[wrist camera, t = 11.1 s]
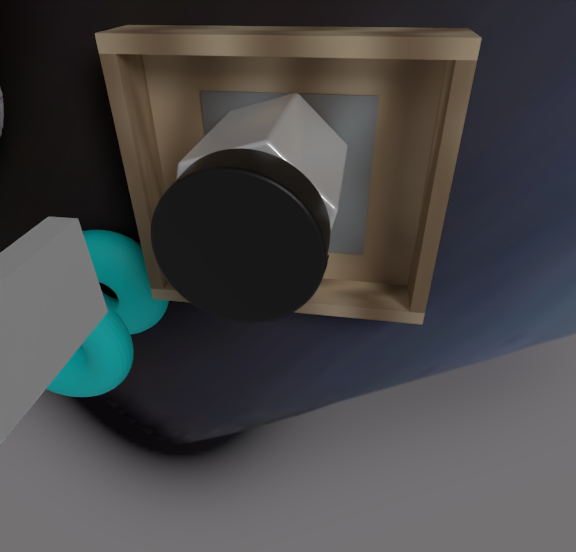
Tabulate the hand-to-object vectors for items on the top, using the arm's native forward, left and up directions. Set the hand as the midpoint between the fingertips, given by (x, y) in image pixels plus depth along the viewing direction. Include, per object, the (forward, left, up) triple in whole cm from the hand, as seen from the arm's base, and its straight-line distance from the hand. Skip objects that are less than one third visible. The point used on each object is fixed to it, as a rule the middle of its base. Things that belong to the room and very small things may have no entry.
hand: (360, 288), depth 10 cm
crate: (+5, +6, -21) cm, 23 cm away
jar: (+5, +5, -21) cm, 22 cm away
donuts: (+20, +16, -22) cm, 34 cm away
